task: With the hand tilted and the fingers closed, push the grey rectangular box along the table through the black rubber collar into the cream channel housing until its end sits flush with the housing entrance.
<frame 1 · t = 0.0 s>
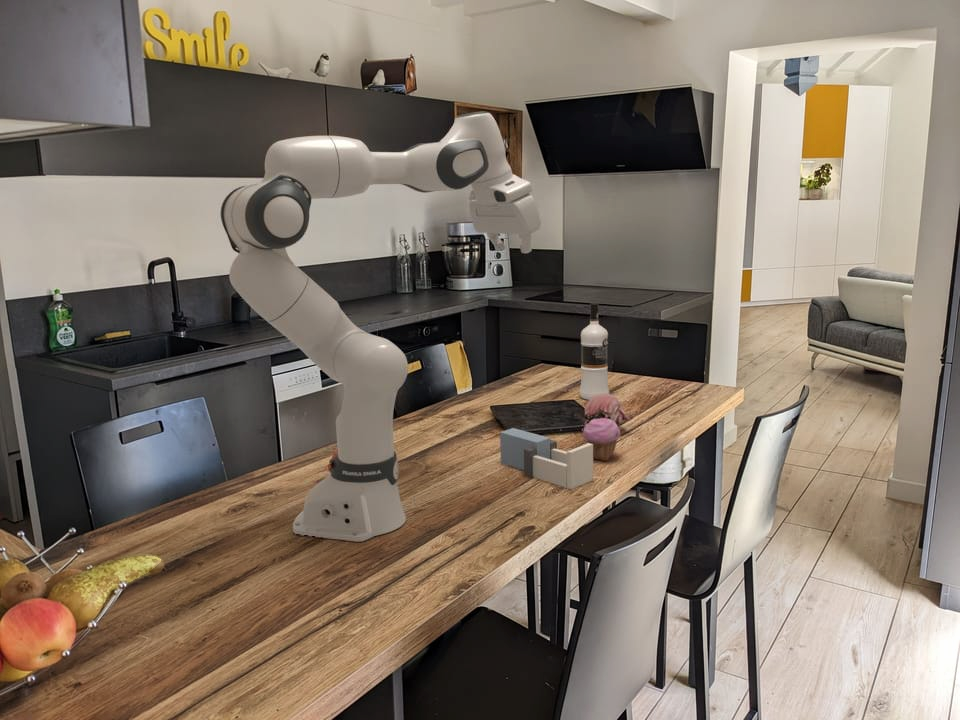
hand: (513, 251, 168), 52 cm above the table, tool tilted 20°, fingers open, 8 cm apart
grey rectangular box: (524, 450, 186), point 4 cm above the table, slide at 0.0 cm
cupcake: (601, 458, 192), on the table
toy: (606, 433, 211), on the table
housing: (560, 477, 179), on the table
vodka: (594, 397, 247), on the table
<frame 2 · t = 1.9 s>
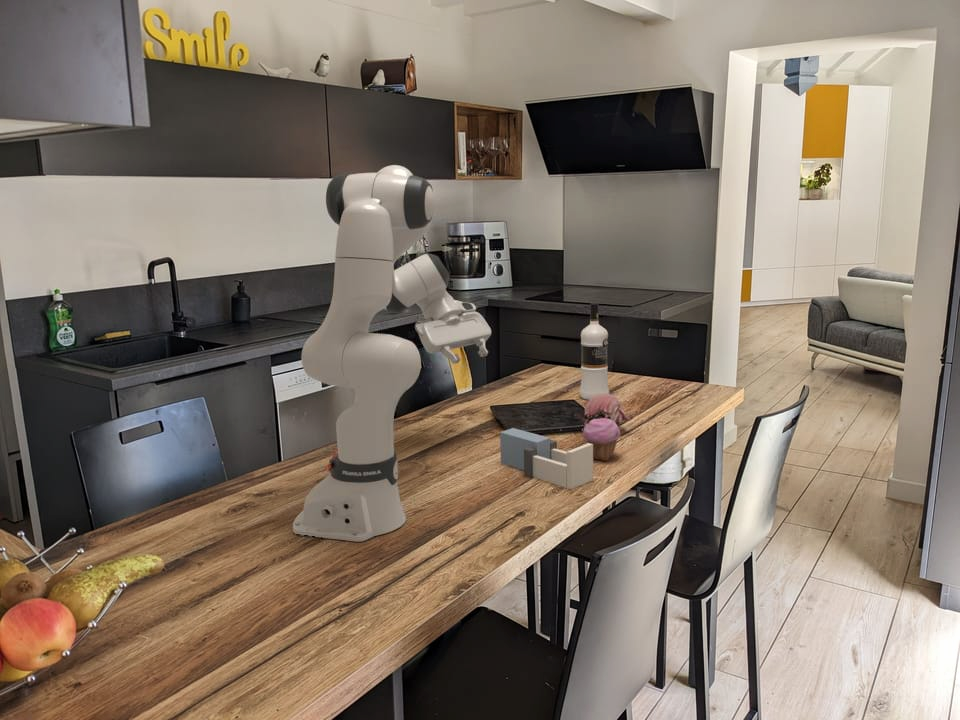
hand: (471, 358, 195), 24 cm above the table, tool tilted 45°, fingers open, 8 cm apart
nothing on the table moved.
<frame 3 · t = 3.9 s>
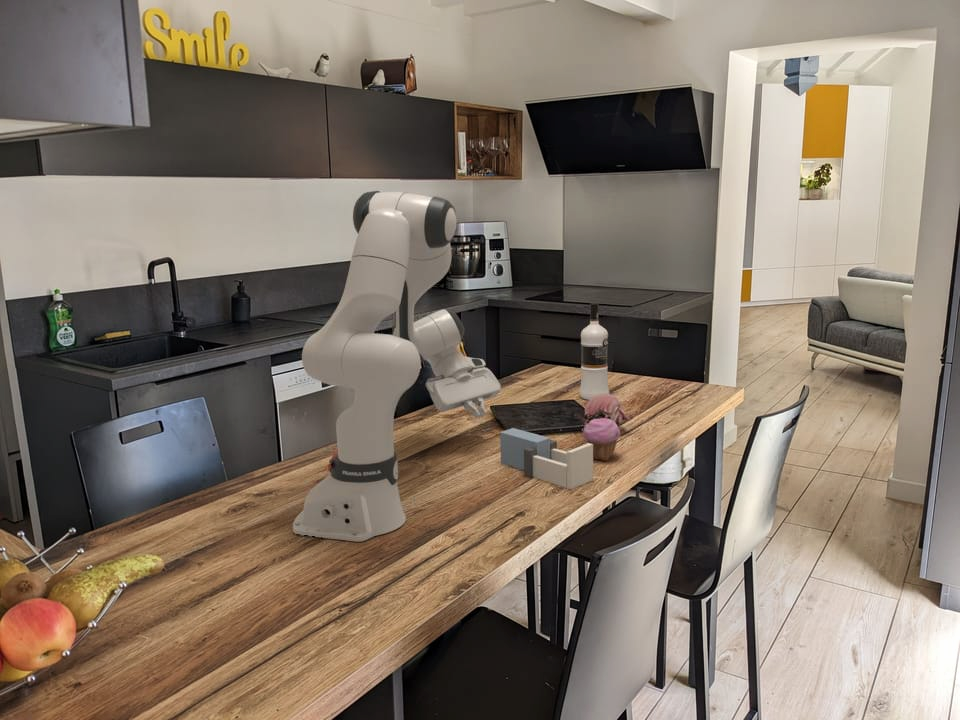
hand: (481, 416, 196), 10 cm above the table, tool tilted 45°, fingers closed
nothing on the table moved.
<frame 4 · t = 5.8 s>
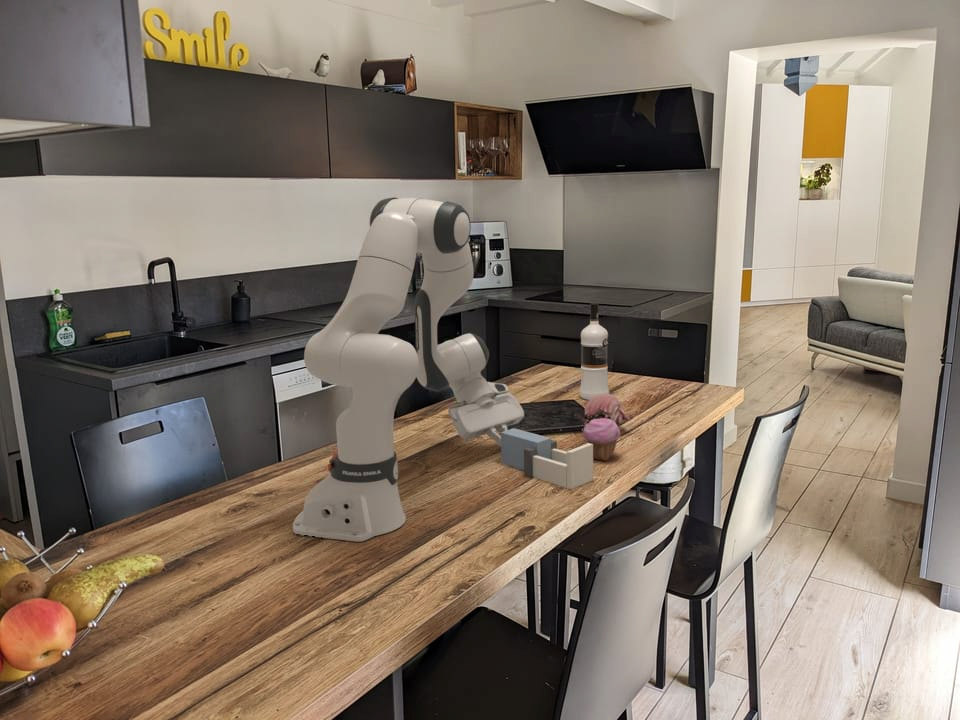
hand: (505, 443, 191), 4 cm above the table, tool tilted 45°, fingers closed, pressing on grey rectangular box
grey rectangular box: (525, 450, 186), point 4 cm above the table, slide at 0.2 cm, touching gripper
everything else where it was.
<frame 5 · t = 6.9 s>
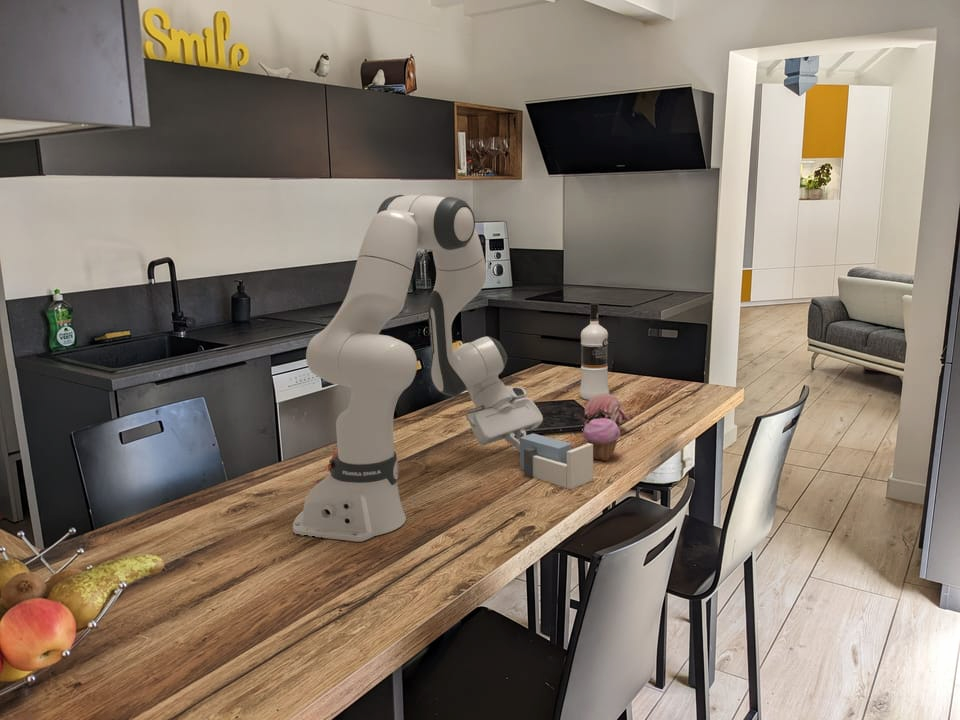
hand: (524, 449, 186), 4 cm above the table, tool tilted 45°, fingers closed, pressing on grey rectangular box
grey rectangular box: (545, 456, 182), point 4 cm above the table, slide at 6.6 cm, touching gripper
everything else where it was.
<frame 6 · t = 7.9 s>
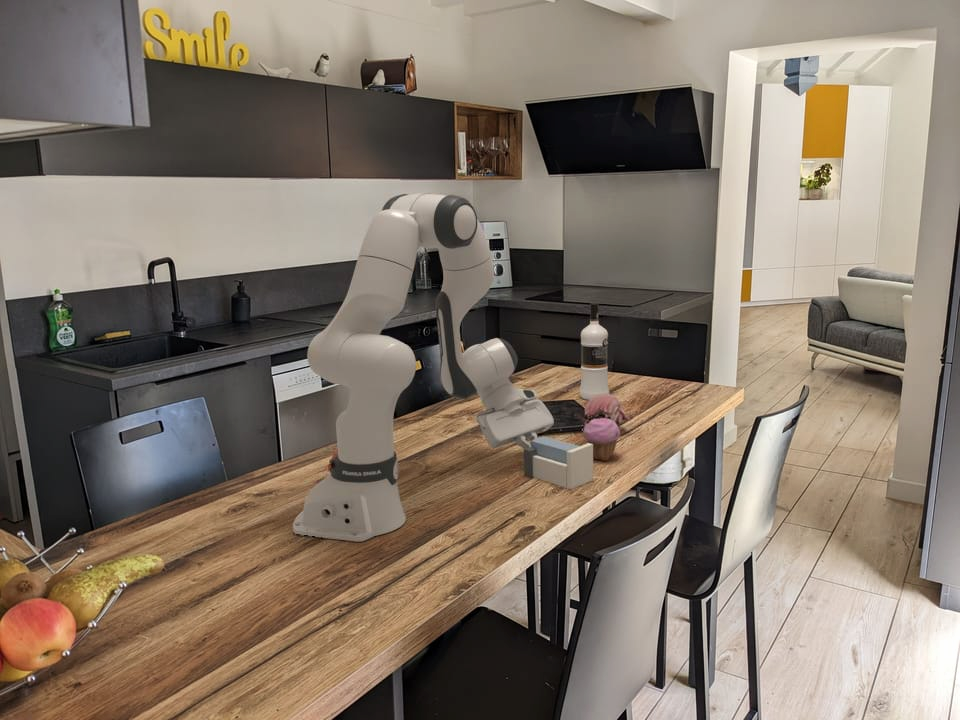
hand: (535, 452, 184), 4 cm above the table, tool tilted 45°, fingers closed, pressing on grey rectangular box
grey rectangular box: (556, 460, 179), point 4 cm above the table, slide at 10.0 cm, touching gripper
everything else where it was.
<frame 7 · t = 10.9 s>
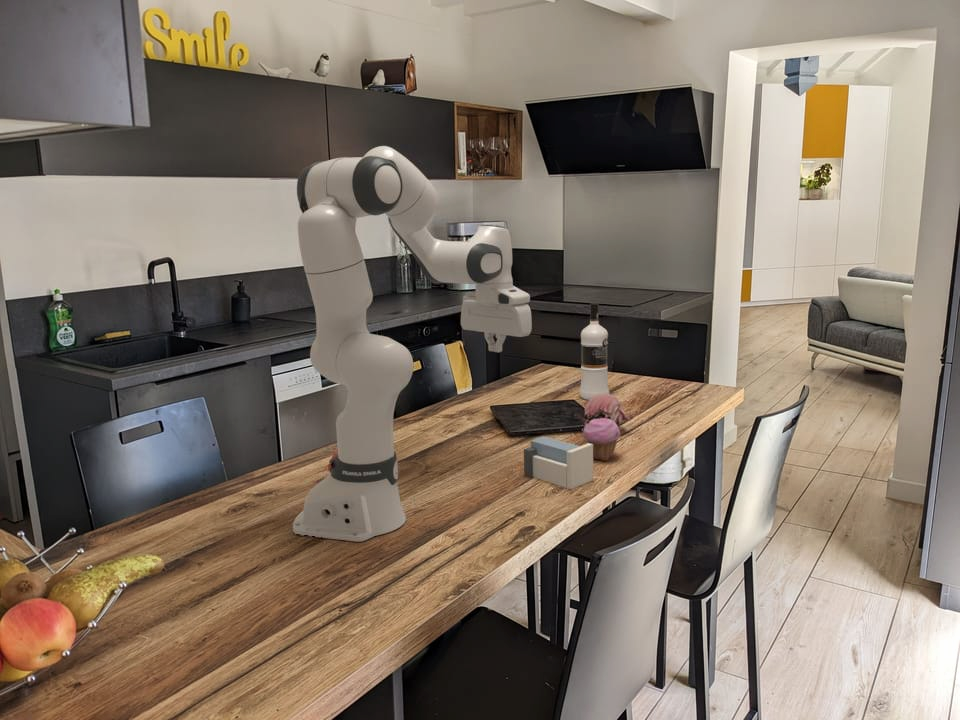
hand: (495, 351, 188), 27 cm above the table, tool pointing down, fingers closed
grey rectangular box: (557, 460, 179), point 4 cm above the table, slide at 10.0 cm
everything else where it was.
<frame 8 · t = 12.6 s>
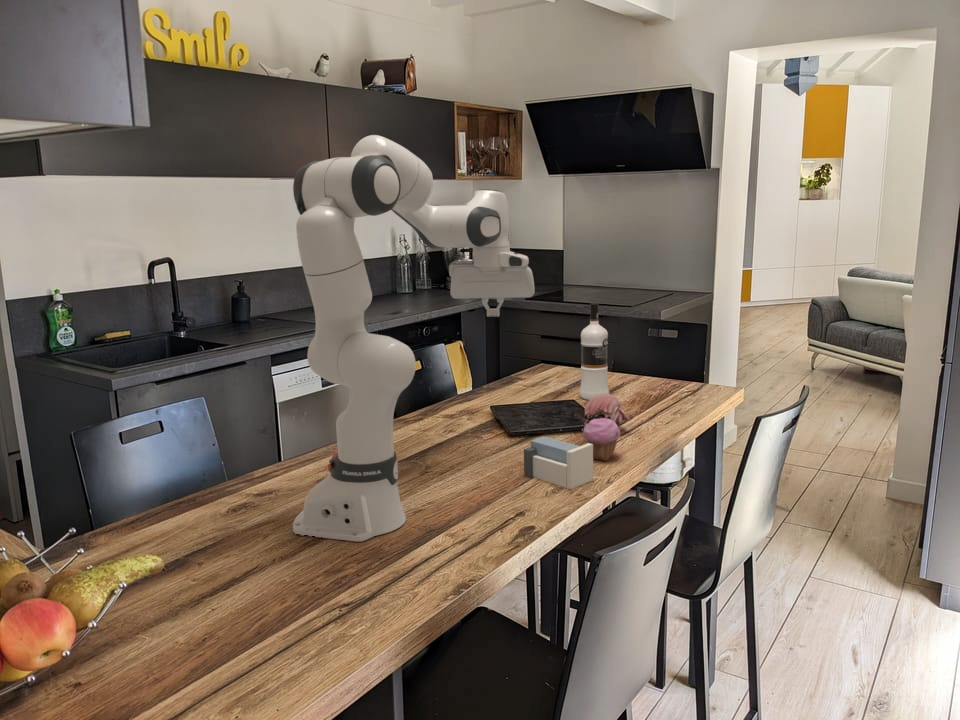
hand: (493, 316, 189), 35 cm above the table, tool pointing down, fingers closed
nothing on the table moved.
at the end: grey rectangular box slide at 10.0 cm; the gripper is holding nothing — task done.
